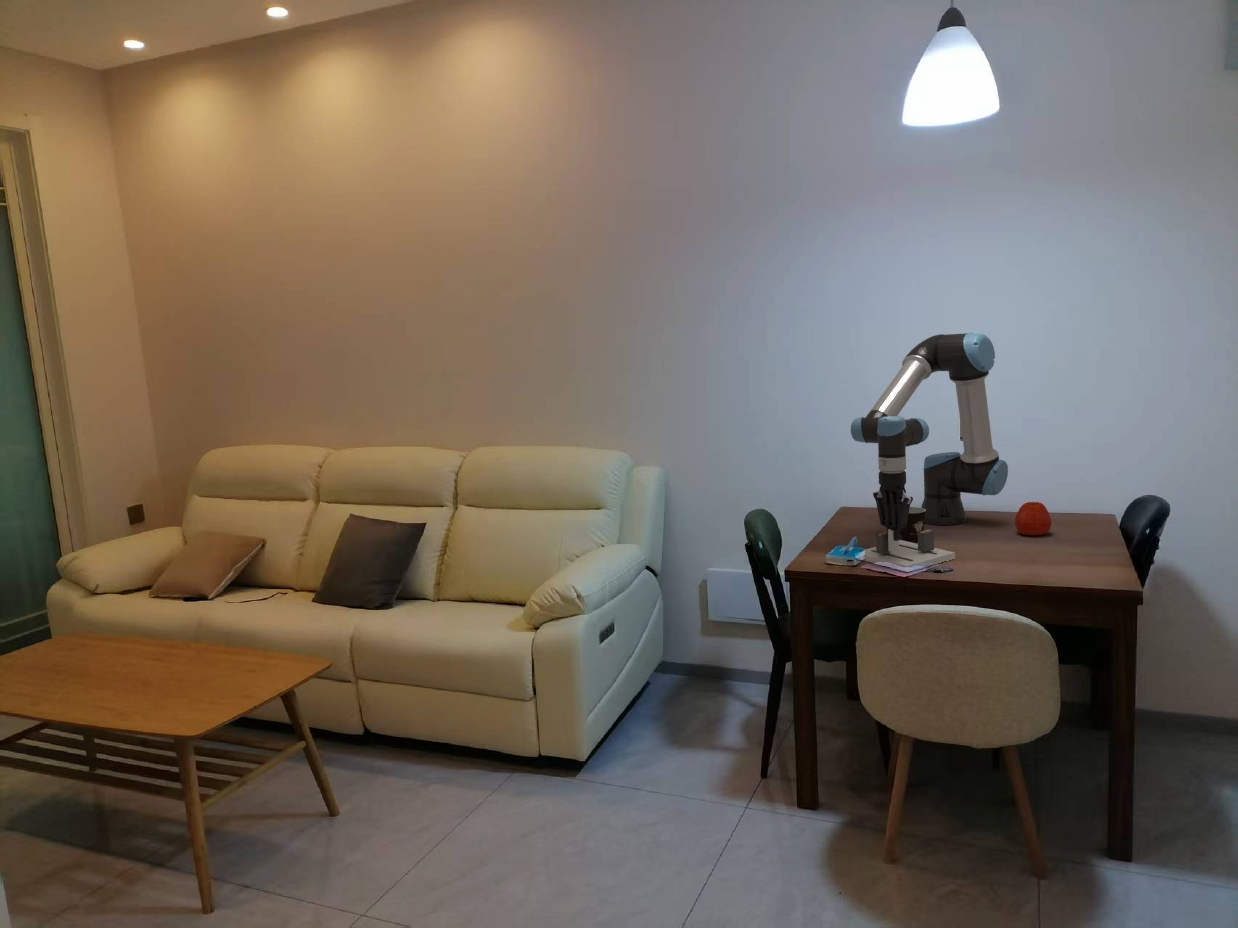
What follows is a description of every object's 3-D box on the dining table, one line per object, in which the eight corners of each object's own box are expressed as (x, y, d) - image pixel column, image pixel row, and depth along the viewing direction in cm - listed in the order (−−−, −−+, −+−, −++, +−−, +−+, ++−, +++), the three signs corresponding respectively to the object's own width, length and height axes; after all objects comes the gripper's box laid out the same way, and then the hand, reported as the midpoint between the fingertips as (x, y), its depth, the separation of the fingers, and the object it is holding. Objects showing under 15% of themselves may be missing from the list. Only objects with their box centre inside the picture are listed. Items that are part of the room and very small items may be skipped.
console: (900, 546, 272) (900, 539, 272) (955, 559, 255) (955, 552, 254) (854, 558, 262) (854, 551, 262) (907, 573, 245) (907, 565, 245)
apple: (1028, 539, 270) (1029, 506, 268) (1007, 532, 280) (1007, 500, 278) (1058, 535, 272) (1058, 502, 270) (1036, 528, 282) (1036, 496, 280)
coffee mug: (922, 537, 281) (922, 506, 279) (929, 543, 273) (928, 512, 271) (885, 538, 282) (884, 508, 281) (890, 545, 274) (890, 514, 272)
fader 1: (885, 550, 260) (885, 531, 259) (892, 551, 258) (892, 532, 257) (876, 552, 258) (875, 533, 257) (882, 554, 256) (882, 535, 255)
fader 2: (927, 547, 259) (927, 529, 258) (934, 549, 257) (933, 530, 256) (917, 550, 257) (917, 531, 256) (924, 552, 255) (924, 533, 254)
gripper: (865, 470, 255) (867, 549, 259) (901, 475, 244) (902, 557, 247) (883, 466, 258) (885, 544, 262) (919, 471, 247) (920, 552, 251)
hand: (893, 550), depth 255 cm, fingers closed
